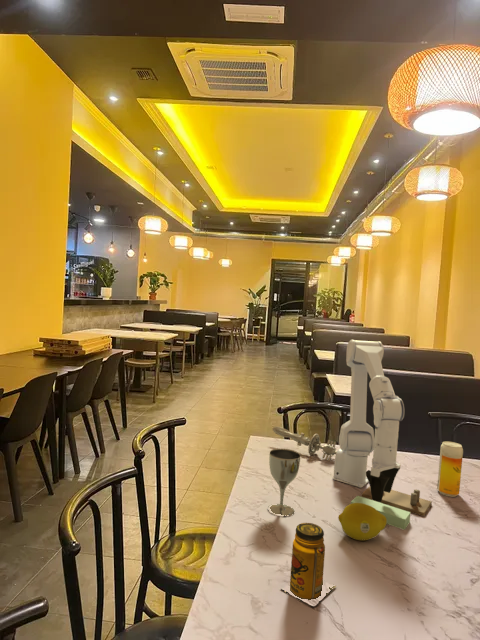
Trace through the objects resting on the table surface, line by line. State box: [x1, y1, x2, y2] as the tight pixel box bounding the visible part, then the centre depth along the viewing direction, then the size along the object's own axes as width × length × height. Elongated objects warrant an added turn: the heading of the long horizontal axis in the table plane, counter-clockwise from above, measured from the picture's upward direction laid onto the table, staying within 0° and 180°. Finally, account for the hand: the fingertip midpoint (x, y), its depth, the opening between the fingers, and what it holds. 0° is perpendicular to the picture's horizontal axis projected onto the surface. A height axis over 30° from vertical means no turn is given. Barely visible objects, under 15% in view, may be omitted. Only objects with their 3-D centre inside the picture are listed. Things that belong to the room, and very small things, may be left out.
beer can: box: [436, 440, 464, 498], centre depth 133 cm, size 6×6×15 cm
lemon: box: [337, 503, 387, 541], centre depth 104 cm, size 11×8×8 cm
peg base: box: [360, 485, 433, 517], centre depth 126 cm, size 17×9×4 cm, turn 55°
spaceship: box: [272, 426, 338, 462], centre depth 160 cm, size 8×35×8 cm
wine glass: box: [268, 448, 301, 517], centre depth 115 cm, size 8×8×15 cm
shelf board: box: [350, 495, 411, 531], centre depth 116 cm, size 14×5×3 cm, turn 55°
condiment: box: [284, 522, 337, 600], centre depth 84 cm, size 7×8×12 cm
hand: (381, 495), depth 115 cm, fingers open, 7 cm apart
